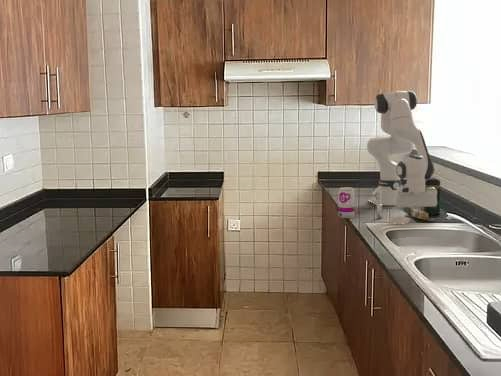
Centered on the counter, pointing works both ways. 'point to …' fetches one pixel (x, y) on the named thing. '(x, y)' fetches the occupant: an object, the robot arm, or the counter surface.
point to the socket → (399, 220)
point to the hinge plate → (419, 218)
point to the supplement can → (346, 202)
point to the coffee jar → (436, 184)
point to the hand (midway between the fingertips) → (415, 215)
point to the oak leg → (421, 214)
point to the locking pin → (379, 211)
